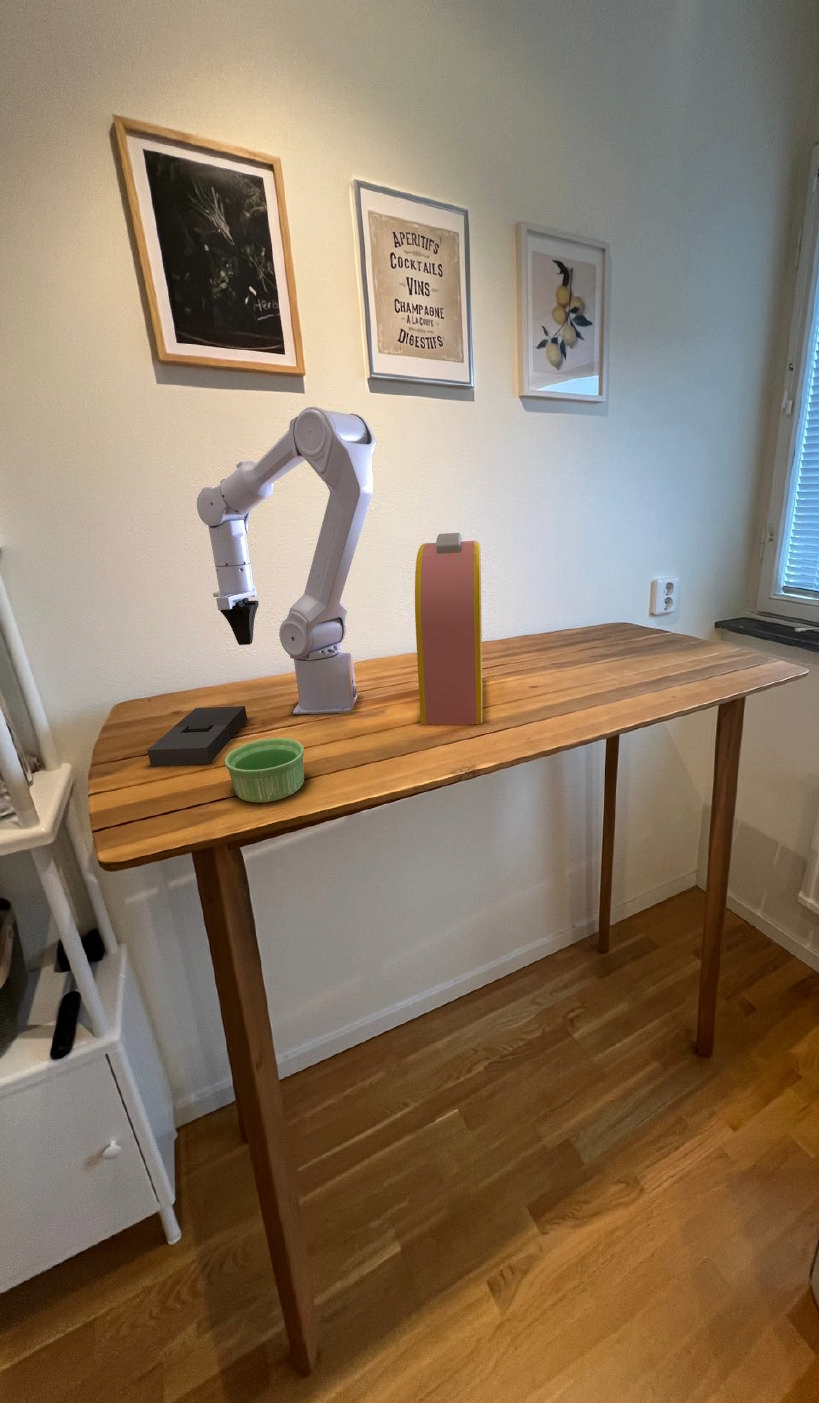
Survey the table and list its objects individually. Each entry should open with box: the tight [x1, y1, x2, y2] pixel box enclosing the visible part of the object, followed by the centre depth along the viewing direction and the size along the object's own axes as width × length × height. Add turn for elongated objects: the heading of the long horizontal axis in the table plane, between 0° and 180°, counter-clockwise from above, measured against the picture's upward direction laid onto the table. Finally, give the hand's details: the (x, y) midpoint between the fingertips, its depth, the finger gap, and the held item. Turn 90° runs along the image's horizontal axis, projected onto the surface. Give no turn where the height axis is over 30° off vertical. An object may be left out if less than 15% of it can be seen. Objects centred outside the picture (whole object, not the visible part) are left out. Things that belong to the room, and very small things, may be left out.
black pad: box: [173, 705, 248, 740], centre depth 83 cm, size 8×9×2 cm
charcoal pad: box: [146, 725, 231, 767], centre depth 76 cm, size 8×8×2 cm
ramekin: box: [224, 737, 305, 803], centre depth 64 cm, size 9×9×4 cm
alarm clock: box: [414, 532, 483, 725], centre depth 86 cm, size 21×9×26 cm, turn 173°
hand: (245, 644), depth 96 cm, fingers closed
